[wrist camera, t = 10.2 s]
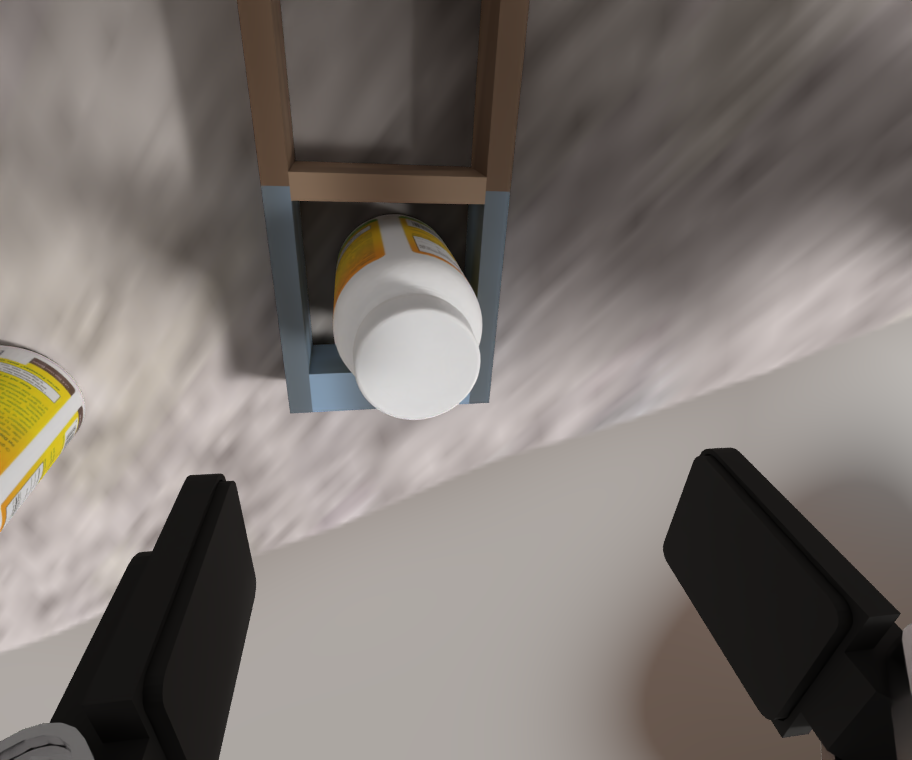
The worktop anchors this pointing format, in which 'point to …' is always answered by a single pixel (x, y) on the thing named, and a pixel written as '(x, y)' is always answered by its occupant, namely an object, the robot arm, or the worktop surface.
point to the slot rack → (380, 193)
